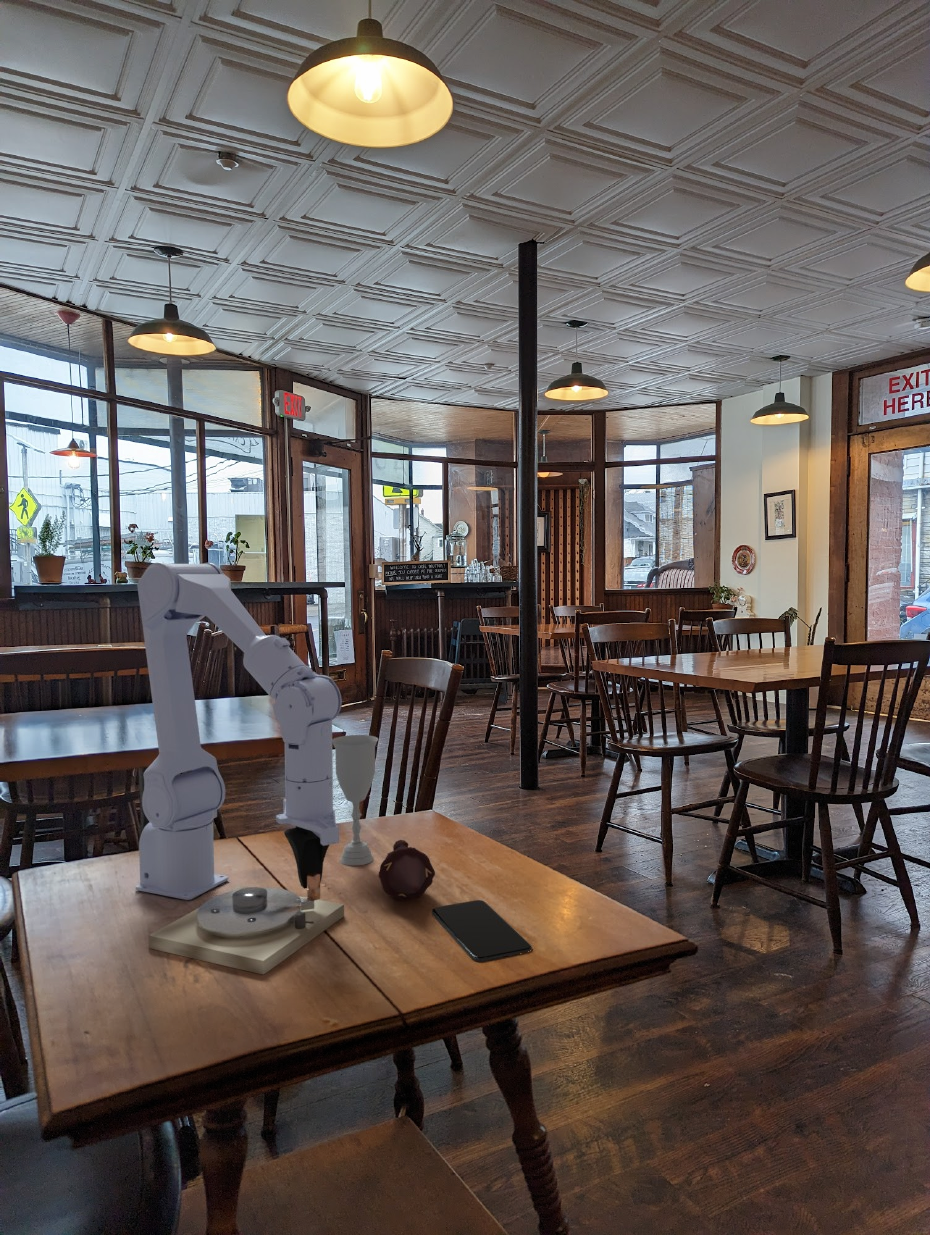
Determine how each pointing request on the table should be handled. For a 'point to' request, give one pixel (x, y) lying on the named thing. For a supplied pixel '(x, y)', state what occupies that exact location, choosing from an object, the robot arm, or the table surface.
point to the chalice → (355, 787)
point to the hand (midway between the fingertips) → (310, 885)
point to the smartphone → (480, 931)
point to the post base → (246, 939)
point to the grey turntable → (255, 910)
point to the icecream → (406, 872)
